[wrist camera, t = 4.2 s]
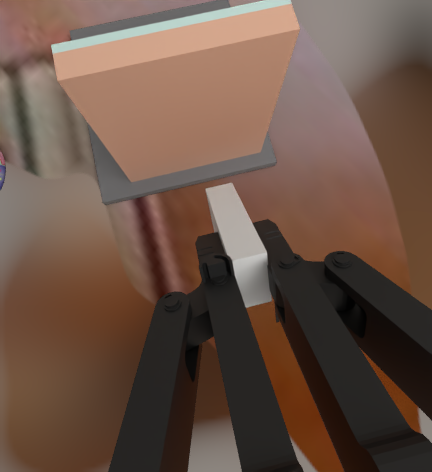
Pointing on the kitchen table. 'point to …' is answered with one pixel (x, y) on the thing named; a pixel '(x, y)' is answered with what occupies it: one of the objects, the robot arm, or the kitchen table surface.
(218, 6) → the mat
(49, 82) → the kitchen table surface
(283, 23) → the tile
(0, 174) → the mug
